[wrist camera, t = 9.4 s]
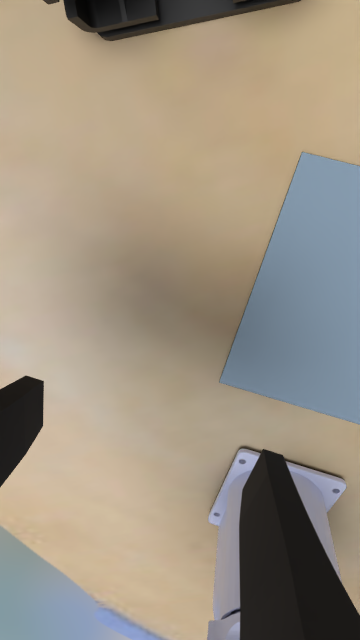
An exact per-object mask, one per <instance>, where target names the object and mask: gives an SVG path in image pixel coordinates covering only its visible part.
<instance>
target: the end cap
mask: <svg viewBox="0 0 360 640" xmlns="http://www.w3.org/2000/svg"><path fill="white" fill-rule="evenodd" d="M43 1H45V2H46V3H47V4H53V3H57V2H59V0H43ZM299 1H300V0H64V5H65V10H66V15H67V18H68V20H70V21H71V22H72V23H74V24H75V25H76V26H78V27H79V28H80V29H82V30H83V31H86V32H93V33H95V32H97V33H98V34H99V35H100V36H101V37H102V38H104V39H105V40H109V41H113V40H118V39H123V38H128V37H132V36H137V35H142V34H147V33H151V32H156V31H161V30H166V29H170V28H175V27H180V26H185V25H189V24H194V23H199V22H204V21H208V20H213V19H218V18H223V17H227V16H232V15H237V14H242V13H246V12H251V11H256V10H261V9H265V8H270V7H275V6H280V5H284V4H289V3H294V2H299Z"/></svg>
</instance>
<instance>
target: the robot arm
mask: <svg viewBox="0 0 360 640" xmlns="http://www.w3.org/2000/svg"><path fill="white" fill-rule="evenodd" d="M43 391H44V381H42V380H39V379H35V378H32V377H29V376H24V377H23V378H21V379H19V380H17V381H15V382H13V383H11V384H9V385H7V386H6V387H4V388H2V389H0V487H1V486H2V484H3V483H4V482H5V480H6V479H7V478H8V477H9V475H10V474H11V473H12V471H13V470H14V469H15V468H16V466H17V465H18V464H19V462H20V461H21V460H22V458H23V457H24V456H25V454H26V453H27V451H28V450H29V448H30V446H31V445H32V443H33V442H34V440H35V438H36V437H37V435H38V433H39V432H40V430H41V428H42V427H43ZM241 459H244V460H241ZM346 487H347V486H346V483H345V481H344V480H343V479H341V478H338V477H335V476H332V475H329V474H325V473H322V472H319V471H316V470H312V469H309V468H306V467H303V466H300V465H296V464H293V463H290V462H287V461H285V459H284V457H283V455H280V454H277V453H274V452H271V451H268V450H264V449H263V450H262V452H261V453H258V452H255V451H251V450H248V449H240V450H239V451H238V452H237V455H236V457H235V459H234V461H233V463H232V466H231V468H230V470H229V472H228V474H227V476H226V479H225V481H224V483H223V485H222V487H221V489H220V492H219V494H218V496H217V498H216V500H215V502H214V505H213V507H212V509H211V511H210V513H209V516H208V521H209V522H210V523H211V524H214V525H217V526H219V529H218V542H217V554H216V567H215V579H214V591H213V613H214V619H215V621H209V626H208V637H207V640H360V615H359V613H358V612H357V610H356V608H355V606H354V605H353V603H352V601H351V599H350V597H349V596H348V594H347V592H346V590H345V588H344V586H343V584H342V580H341V576H340V571H339V567H338V562H337V558H336V553H335V549H334V544H333V539H332V535H331V530H330V526H329V521H328V517H327V512H328V511H329V510H330V508H331V507H332V506H333V505H334V503H335V502H336V501H337V499H338V498H339V497H340V496H341V494H342V493H343V492H344V490H345V489H346Z"/></svg>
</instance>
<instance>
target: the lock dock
mask: <svg viewBox="0 0 360 640" xmlns="http://www.w3.org/2000/svg"><path fill="white" fill-rule="evenodd" d="M219 383H223V384H226V385H230V386H233V387H236V388H240V389H243V390H246V391H250V392H253V393H256V394H260V395H263V396H266V397H270V398H273V399H276V400H280V401H283V402H286V403H290V404H293V405H296V406H300V407H303V408H306V409H310V410H313V411H316V412H320V413H323V414H326V415H330V416H333V417H336V418H340V419H343V420H346V421H350V422H353V423H356V424H360V166H356V165H352V164H348V163H344V162H340V161H336V160H332V159H328V158H324V157H320V156H316V155H312V154H308V153H304V152H302V154H301V157H300V159H299V162H298V165H297V168H296V170H295V173H294V176H293V179H292V182H291V184H290V187H289V190H288V193H287V195H286V198H285V201H284V204H283V207H282V209H281V212H280V215H279V218H278V220H277V223H276V226H275V229H274V231H273V234H272V237H271V240H270V243H269V245H268V248H267V251H266V254H265V256H264V259H263V262H262V265H261V268H260V270H259V273H258V276H257V279H256V281H255V284H254V287H253V290H252V293H251V295H250V298H249V301H248V304H247V306H246V309H245V312H244V315H243V318H242V320H241V323H240V326H239V329H238V331H237V334H236V337H235V340H234V342H233V345H232V348H231V351H230V354H229V356H228V359H227V362H226V365H225V367H224V370H223V373H222V376H221V379H220V381H219Z"/></svg>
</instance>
